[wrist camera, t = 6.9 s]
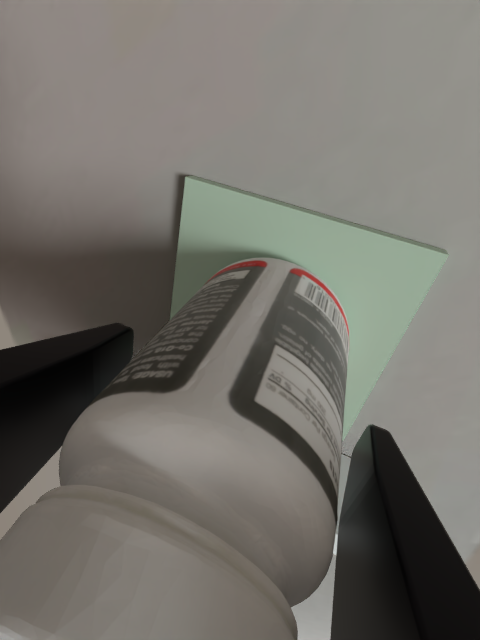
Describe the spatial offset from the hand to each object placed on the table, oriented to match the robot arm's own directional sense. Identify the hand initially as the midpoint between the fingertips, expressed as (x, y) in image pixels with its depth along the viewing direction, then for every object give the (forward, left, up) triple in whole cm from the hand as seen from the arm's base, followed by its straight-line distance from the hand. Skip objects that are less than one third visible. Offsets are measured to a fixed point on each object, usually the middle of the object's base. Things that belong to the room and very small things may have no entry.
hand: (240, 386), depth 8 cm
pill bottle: (0, 0, -3) cm, 3 cm away
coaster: (0, 0, -4) cm, 4 cm away
